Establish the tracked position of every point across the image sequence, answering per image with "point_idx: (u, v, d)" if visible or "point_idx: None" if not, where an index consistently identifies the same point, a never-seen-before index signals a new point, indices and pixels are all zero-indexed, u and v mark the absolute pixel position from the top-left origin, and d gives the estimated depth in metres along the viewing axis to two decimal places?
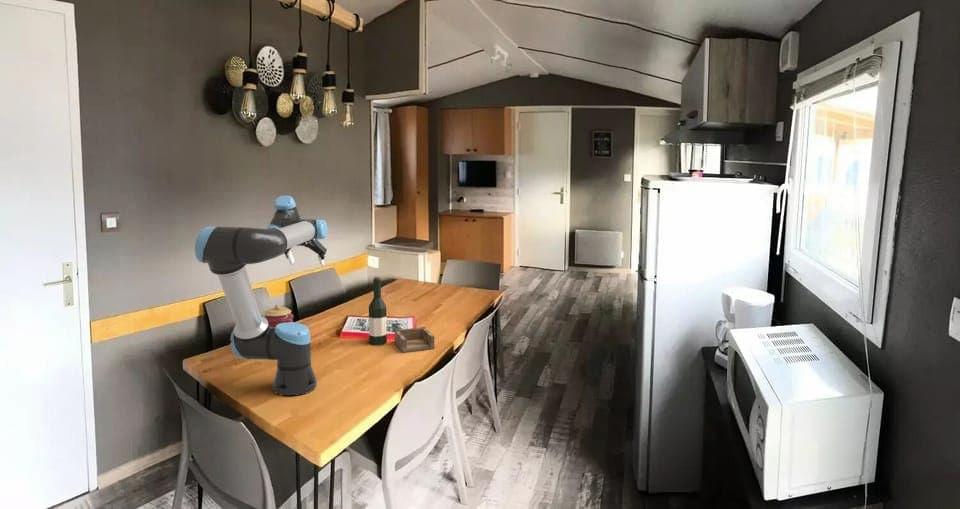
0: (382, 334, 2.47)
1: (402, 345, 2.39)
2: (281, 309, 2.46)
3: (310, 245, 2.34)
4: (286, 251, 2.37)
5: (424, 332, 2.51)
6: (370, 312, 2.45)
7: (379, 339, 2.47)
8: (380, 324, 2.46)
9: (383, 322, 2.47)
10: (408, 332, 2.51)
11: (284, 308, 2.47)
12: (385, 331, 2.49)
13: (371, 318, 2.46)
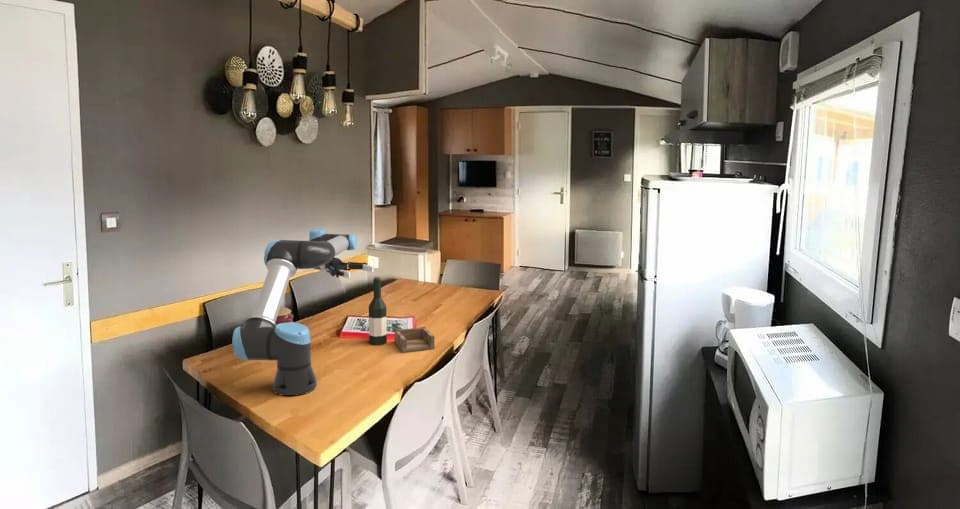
0: (382, 334, 2.47)
1: (402, 345, 2.39)
2: (281, 309, 2.46)
3: None
4: (337, 269, 2.50)
5: (424, 332, 2.51)
6: (370, 312, 2.45)
7: (379, 339, 2.47)
8: (380, 324, 2.46)
9: (383, 322, 2.47)
10: (408, 332, 2.51)
11: (284, 308, 2.47)
12: (385, 331, 2.49)
13: (371, 318, 2.46)
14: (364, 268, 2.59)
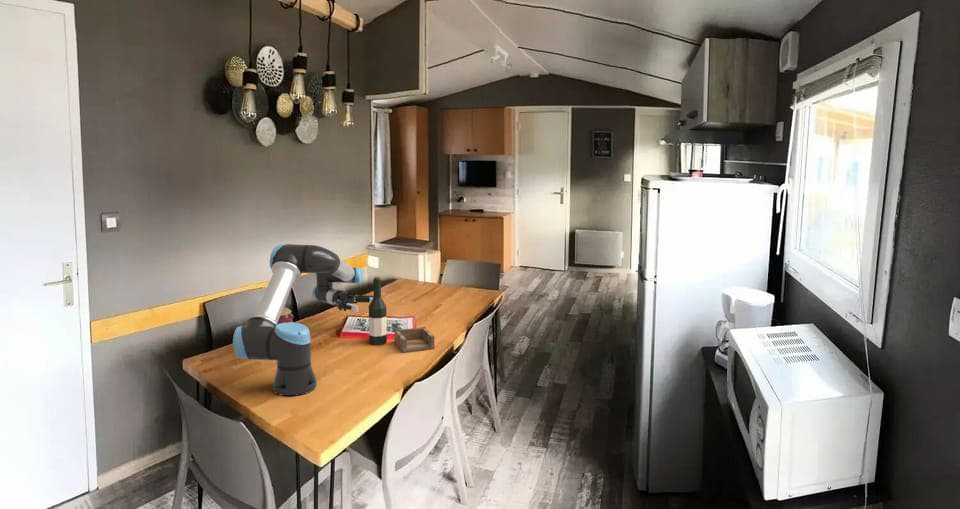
0: (382, 334, 2.47)
1: (402, 345, 2.39)
2: None
3: None
4: (344, 303, 2.51)
5: (424, 332, 2.51)
6: (370, 312, 2.45)
7: (379, 339, 2.47)
8: (380, 324, 2.46)
9: (383, 322, 2.47)
10: (408, 332, 2.51)
11: (284, 308, 2.47)
12: (385, 331, 2.49)
13: (371, 318, 2.46)
14: None
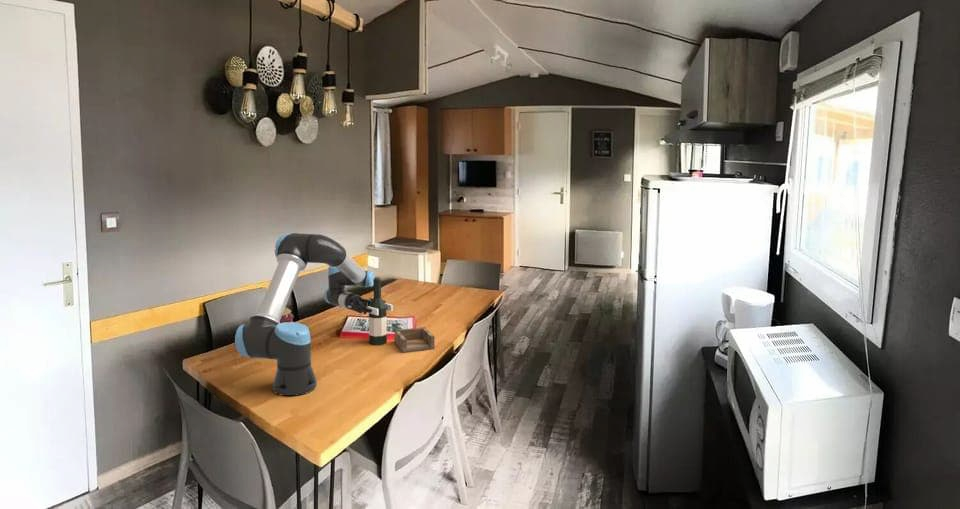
0: (382, 334, 2.47)
1: (402, 345, 2.39)
2: None
3: None
4: (363, 306, 2.46)
5: (424, 332, 2.51)
6: None
7: (379, 339, 2.47)
8: (380, 324, 2.46)
9: (383, 322, 2.47)
10: (408, 332, 2.51)
11: None
12: (385, 331, 2.49)
13: (371, 318, 2.46)
14: None
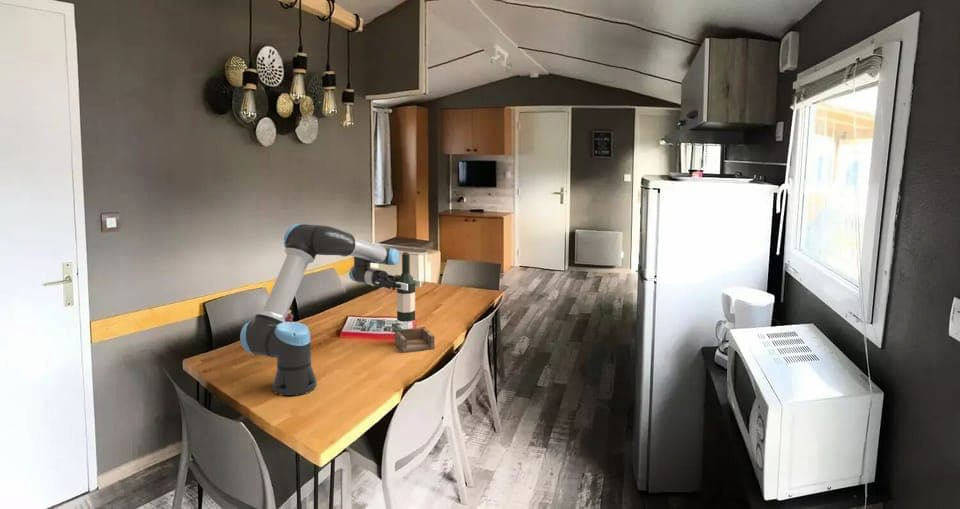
0: (411, 310, 2.43)
1: (402, 345, 2.39)
2: None
3: None
4: (392, 281, 2.42)
5: (424, 332, 2.51)
6: None
7: (407, 315, 2.43)
8: (409, 300, 2.42)
9: (412, 298, 2.43)
10: (408, 332, 2.51)
11: None
12: (414, 307, 2.44)
13: (400, 294, 2.42)
14: None
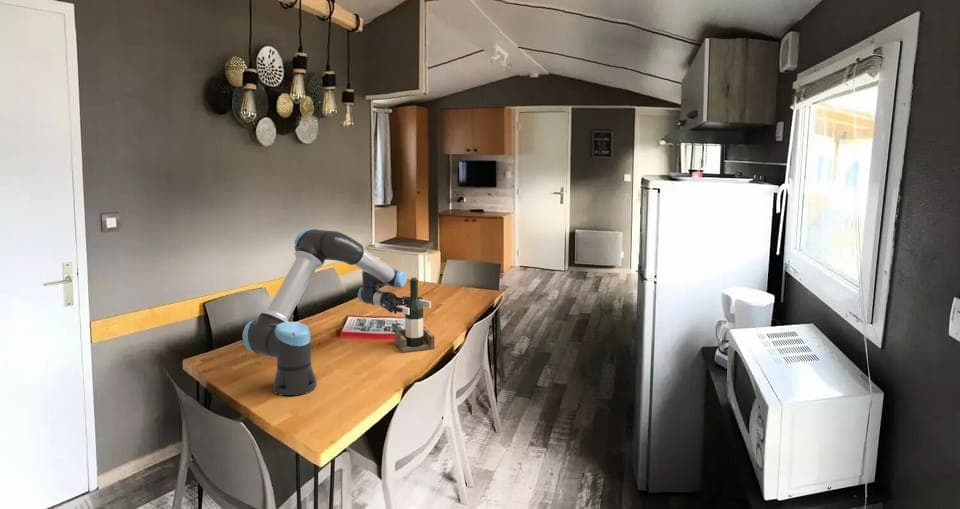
0: (419, 335, 2.43)
1: (402, 345, 2.39)
2: None
3: None
4: (394, 305, 2.42)
5: (424, 332, 2.51)
6: None
7: (415, 341, 2.43)
8: (417, 325, 2.42)
9: (420, 324, 2.43)
10: None
11: None
12: (422, 332, 2.45)
13: (408, 319, 2.42)
14: None
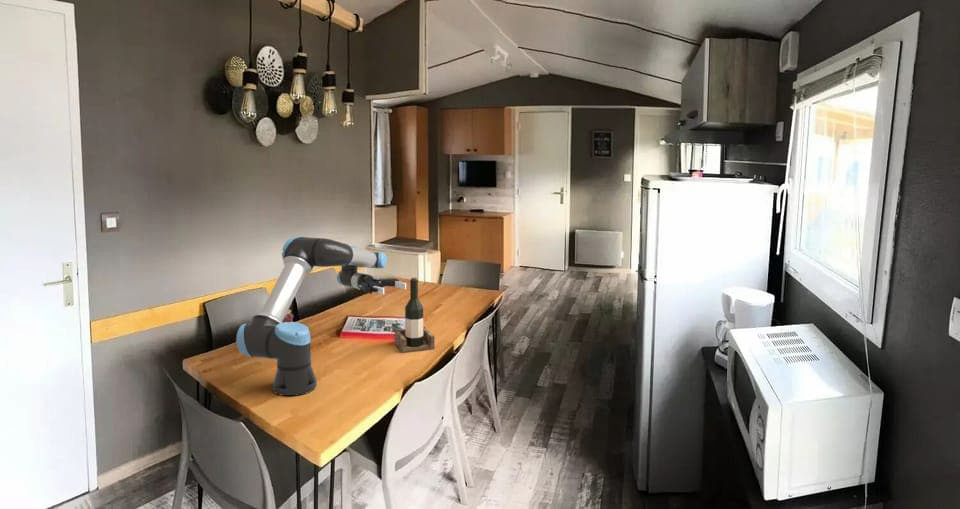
0: (419, 336, 2.43)
1: (402, 345, 2.39)
2: None
3: None
4: (370, 285, 2.49)
5: (424, 332, 2.51)
6: (407, 313, 2.42)
7: (415, 341, 2.43)
8: (417, 325, 2.42)
9: (420, 324, 2.43)
10: None
11: None
12: (422, 333, 2.45)
13: (408, 319, 2.42)
14: (396, 285, 2.58)
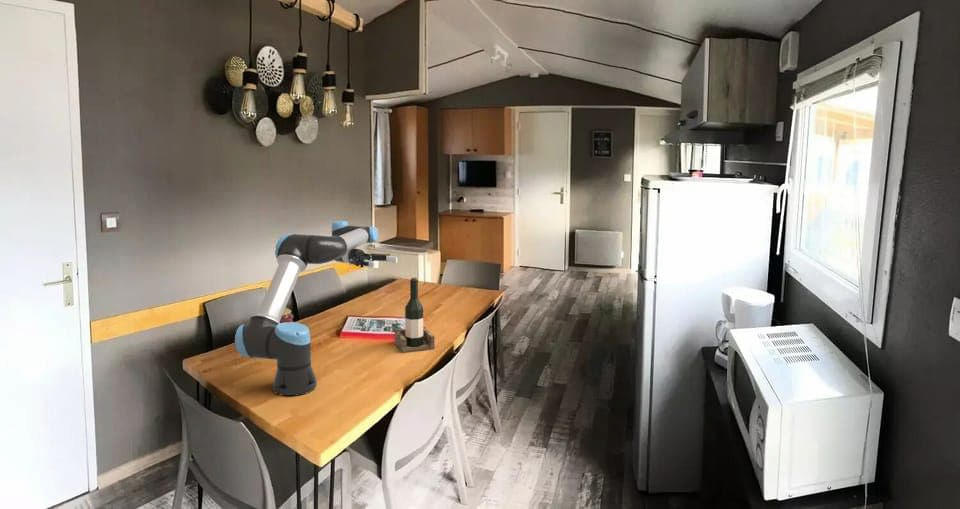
0: (419, 336, 2.43)
1: (402, 345, 2.39)
2: None
3: None
4: (361, 259, 2.47)
5: (424, 332, 2.51)
6: (407, 313, 2.42)
7: (415, 341, 2.43)
8: (417, 325, 2.42)
9: (420, 324, 2.43)
10: None
11: None
12: (422, 333, 2.45)
13: (408, 319, 2.42)
14: (387, 259, 2.56)
